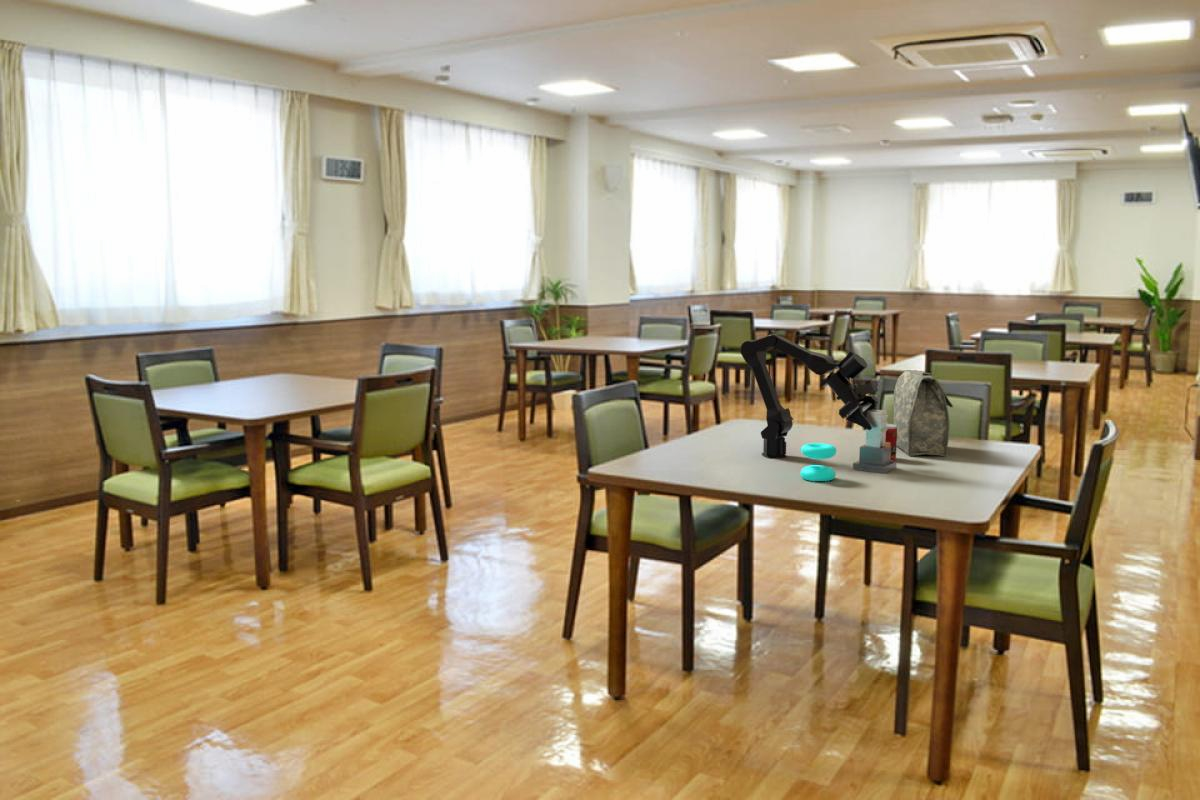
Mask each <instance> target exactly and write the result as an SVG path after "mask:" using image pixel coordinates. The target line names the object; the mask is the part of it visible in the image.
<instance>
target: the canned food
mask: <svg viewBox="0 0 1200 800" xmlns="http://www.w3.org/2000/svg"><path fill="white" fill-rule="evenodd" d="M886 428H887V431H886V441H885V443H886V442H891V444H890V446H891V460H893V461H896V458H897V448H898V447H897V425H893V423H888V424H886Z"/></svg>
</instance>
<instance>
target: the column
mask: <svg viewBox="0 0 1200 800" xmlns="http://www.w3.org/2000/svg"><path fill="white" fill-rule="evenodd" d="M887 411H888V410H884V409H877V410H874V409H872V410H869V411H867V418H866V419H867V420H868V422H869V423H870V425H871V427H872V429H871V430H868V429H866V428H865V429H866V430H865V444H866V447H872V448H883V447H884V445H885V441H886V431H887V428H886V424H889V423H888V421H887V419H888V417H889V414H887V413H888V412H887Z"/></svg>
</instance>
